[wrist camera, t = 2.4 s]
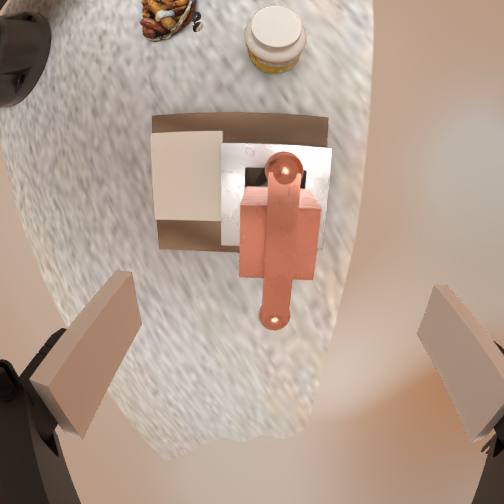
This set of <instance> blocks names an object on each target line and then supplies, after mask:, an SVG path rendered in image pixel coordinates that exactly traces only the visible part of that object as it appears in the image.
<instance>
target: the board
mask: <svg viewBox="0 0 504 504" xmlns="http://www.w3.org/2000/svg"><path fill="white" fill-rule="evenodd" d="M185 131H223V142H225V141H227V140H257V141H281V142H297V143H310V144H322V145H325V146H327V135H328V118H325V117H315V116H304V115H290V114H272V113H189V114H171V115H157V116H152V133H164V132H185ZM264 171H265V168H256V167H248V186H251V187H255V183H256V180H257V178H258V176H259V175H260V174H261V173H262V172H264ZM157 229H158V239H159V249H173V250H196V251H218V252H240V246H228V245H221V221H198V220H157Z"/></svg>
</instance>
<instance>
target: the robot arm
mask: <svg viewBox="0 0 504 504" xmlns="http://www.w3.org/2000/svg"><path fill="white" fill-rule="evenodd" d="M6 2H7V0H0V10H1V9H2V7H3V6H4V4H5V3H6ZM49 48H50V28H49V25H48V22H47V21H46V19H45V18H44V17H43V16H41V15H39V14H36V13H32V12H27V11H25V12H18V13H12V14H8V15H3V16H0V107H9V106H13V105H15V104H17V103H19V102H20V101H21V100H23V99H24V98H25V97H26V96H27V95H28V94H29V92H30V91H31V90H32V88H33V87H34V86H35V84H36V82H37V81H38V79H39V77H40V75H41V73H42V71H43V68H44V66H45V63H46V60H47V57H48V53H49ZM141 325H142V322H141V318H140V313H139V308H138V303H137V298H136V292H135V287H134V281H133V275H132V272H124V271H116V272H115V273H114V274H113V275H112V277H111V278H110V279H109V280H108V281H107V282H106V283H105V284H104V286H103V287H102V288H101V289H100V290H99V291H98V292H97V294H96V295H95V296H94V297H93V298H92V299H91V301H90V302H89V303H88V304H87V305H86V307H85V308H84V309H83V310H82V311H81V313H80V314H79V315H78V316H77V317H76V319H75V320H74V321H73V322H72V324H71V325H70V326H69V327H68V329H64V328H61V329H60V330H58V331H57V332H56V333H54V334H53V335H51V337H50V338H49V339H48V340H47V342H46V343H45V344H44V346H43V347H42V348H41V349H40V350H39V353H37V354H36V356H35V357H34V358H33V359H32V361H31V362H30V363H29V365H28V366H27V367H26V369H25V370H24V371H23V373H22V374H21V375H20V377H18V375H17V373H16V371H15V370H14V368H13V366H12V364H11V363H9V362H8V361H7V360H2V359H1V360H0V504H81V502H80V500H79V498H78V495H77V493H76V490H75V488H74V485H73V482H72V480H71V477H70V474H69V471H68V468H67V465H66V462H65V459H64V456H63V453H62V449H61V446H60V442H59V439H58V436H57V434H56V432H55V428H56V426H57V424H59V426H60V427H61V428H62V430H63V431H64V433H66V434H68V435H71V436H74V437H77V438H79V439H82V440H83V438H84V436H85V434H86V432H87V430H88V428H89V425H90V423H91V421H92V419H93V417H94V415H95V413H96V411H97V409H98V407H99V405H100V403H101V401H102V399H103V397H104V395H105V393H106V391H107V389H108V387H109V385H110V383H111V381H112V379H113V377H114V375H115V373H116V371H117V369H118V368H119V366H120V364H121V362H122V360H123V358H124V356H125V354H126V352H127V351H128V349H129V347H130V345H131V343H132V341H133V340H134V338H135V336H136V334H137V332H138V330H139V329H140V327H141ZM417 335H418V337H419V339H420V340H421V342H422V344H423V346H424V347H425V349H426V351H427V353H428V355H429V357H430V358H431V360H432V362H433V364H434V366H435V368H436V370H437V372H438V374H439V376H440V378H441V380H442V382H443V384H444V386H445V388H446V390H447V392H448V394H449V396H450V398H451V400H452V402H453V404H454V406H455V409H456V411H457V413H458V415H459V417H460V419H461V422H462V424H463V426H464V428H465V431H466V433H467V435H468V438H469V440H470V443H472V442H475V441H477V440H480V439H483V438H485V437H486V436H487V435H488V434H489V433H490V431H491V430H492V429H493V428H494V429H495V431H496V434H495V435H494V436H493V437H492V438H491V439H490V440H489V441H488V442H487V443H486V445H485V446H484V447H483V448H482V450H481V452H483V451H484V450H485V449H486V448H487V447H488V446H490V448H489V450H488V451H487V452H486V454H488V455H487V459H486V463H485V466H484V469H483V473H482V476H481V479H480V482H479V485H478V488H477V490H476V493H475V496H474V499H473V502H472V504H504V349H503V348H502V347H501V346H500V345H498V344H497V343H496V342H495V341H493V340H492V339H491V338H490V336H489V335H488V334H487V332H486V331H485V330H484V328H483V327H482V326H481V325H480V324H479V322H478V321H477V320H476V318H475V317H474V316H473V315H472V313H471V312H470V311H469V310H468V309H467V307H465V305H464V304H463V303H462V302H461V300H460V299H459V298H458V297H457V296H456V295H455V293H454V292H453V291H452V290H451V289H450V288H449V287H448V285H434V287H433V290H432V293H431V296H430V299H429V302H428V305H427V308H426V311H425V314H424V317H423V319H422V322H421V325H420V327H419V330H418V332H417Z"/></svg>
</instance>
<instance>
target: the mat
mask: <svg viewBox="0 0 504 504" xmlns="http://www.w3.org/2000/svg"><path fill="white" fill-rule="evenodd" d="M222 142H223V131H185V132H164V133H151V167H152V186H153V202H154V215H155V220H198V221H221V143H222Z"/></svg>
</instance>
